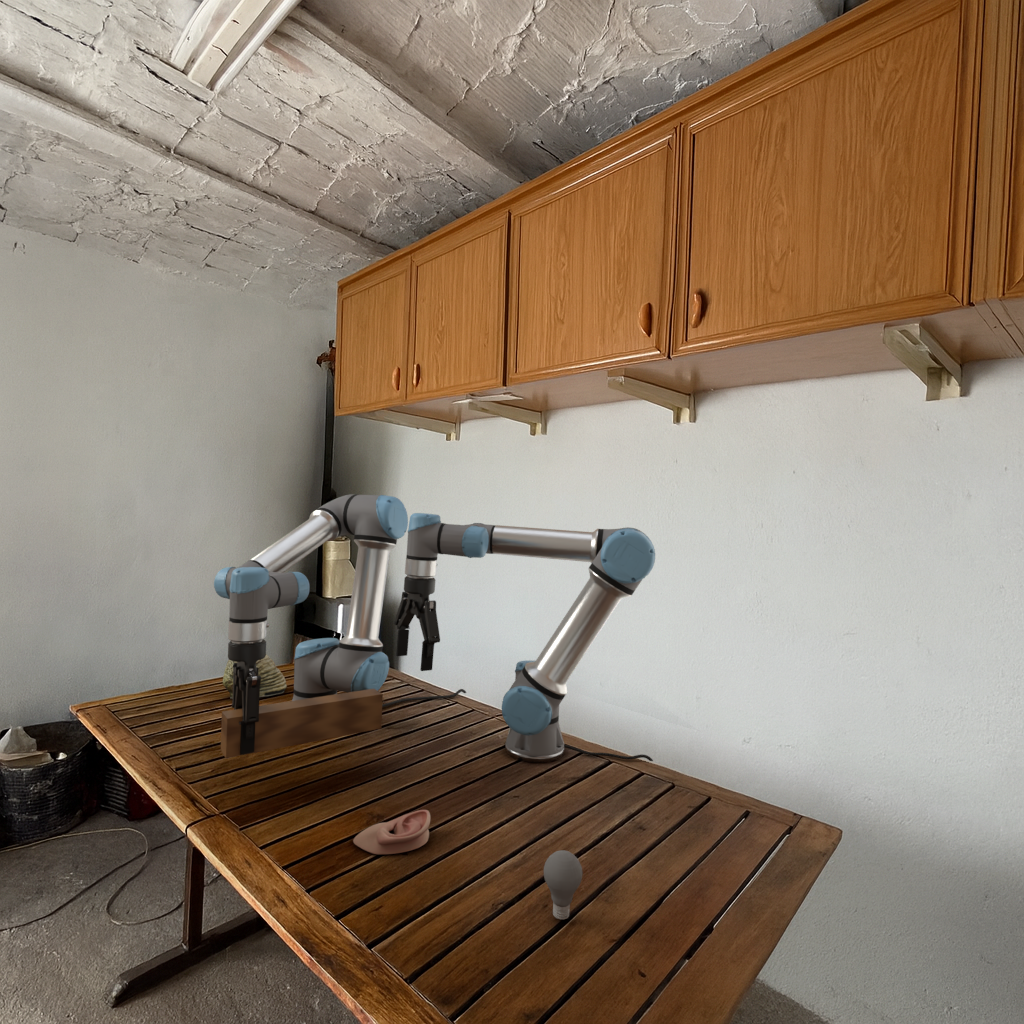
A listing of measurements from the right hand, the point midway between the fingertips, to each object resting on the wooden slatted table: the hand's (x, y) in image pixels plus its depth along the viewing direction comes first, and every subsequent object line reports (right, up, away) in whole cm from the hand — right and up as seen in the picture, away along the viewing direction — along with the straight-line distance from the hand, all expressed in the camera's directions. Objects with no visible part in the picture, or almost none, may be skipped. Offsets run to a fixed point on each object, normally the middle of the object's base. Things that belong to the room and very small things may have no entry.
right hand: (413, 662), depth 155 cm
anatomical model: (+2, -24, -37) cm, 44 cm away
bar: (-23, -15, -11) cm, 29 cm away
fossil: (-57, -20, +43) cm, 74 cm away
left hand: (-33, -14, -19) cm, 41 cm away
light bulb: (+32, -26, -57) cm, 70 cm away
